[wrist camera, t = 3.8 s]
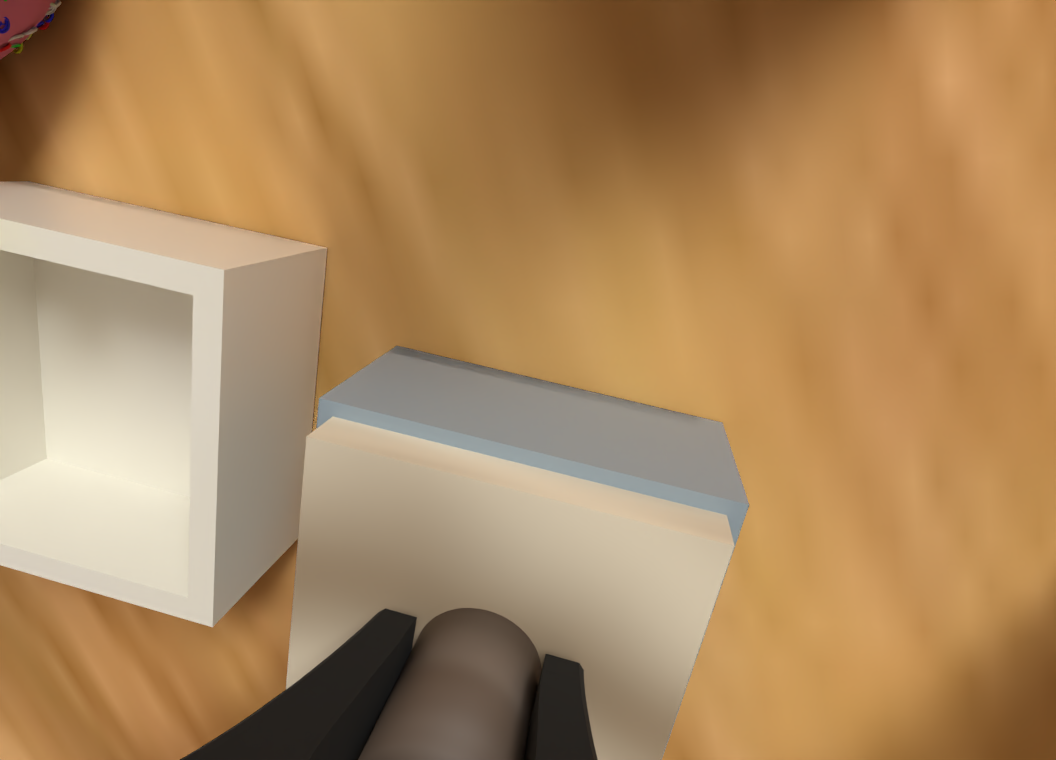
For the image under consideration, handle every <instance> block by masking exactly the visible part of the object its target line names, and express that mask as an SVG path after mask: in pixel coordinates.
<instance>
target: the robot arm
mask: <svg viewBox="0 0 1056 760" xmlns="http://www.w3.org/2000/svg"><path fill="white" fill-rule="evenodd" d="M416 620H417V617H414V616H411V615H407V614H404V613H400V612H396V611H393V610H389V609H386V608H385V609H383V610H381V611H380V612H378V613H377V614H376V615H375V616H374V617H373V618H372V619H371V620H370V621H368V622H367V623H366V624H365V625H364V626H363V627H362V628H361V629H360V630H359V631H357V632H356V633H355V634H354V635H353V636H352V637H351V638H349V639H348V640H347V641H346V642H345V643H344V644H343V645H341V646H340V647H339V648H338V649H337V650H335V651H334V652H333V653H332V654H331V655H330V656H328V657H327V658H326V659H325V660H323V661H322V662H321V663H320V664H318V665H317V666H316V667H315V668H313V669H312V670H311V671H310V672H308V673H307V674H306V675H305V676H303V677H302V678H301V679H300V680H298V681H297V682H296V683H294V684H293V685H292V686H290V687H289V688H288V689H286V690H285V691H284V692H282V693H281V694H279V695H278V696H277V697H275V698H274V699H272V700H271V701H270V702H268V703H267V704H265V705H264V706H263V707H261V708H260V709H259V710H257V711H256V712H254V713H253V714H252V715H250V716H249V717H247V718H246V719H244V720H243V721H241V722H240V723H238V724H237V725H235V726H234V727H232V728H231V729H229V730H228V731H226V732H225V733H223V734H221V735H220V736H218V737H217V738H215V739H214V740H212V741H210V742H209V743H207V744H205V745H204V746H202V747H200V748H199V749H197V750H196V751H194V752H192V753H191V754H189V755H187V756H186V757H184V758H182V759H180V760H358V759H359V757H360V755H361V753H362V751H363V749H364V746H365V744H366V742H367V740H368V738H369V736H370V734H371V732H372V730H373V728H374V726H375V724H376V722H377V720H378V718H379V716H380V714H381V712H382V710H383V708H384V706H385V704H386V702H387V700H388V698H389V696H390V694H391V692H392V690H393V688H394V685H395V683H396V681H397V679H398V677H399V675H400V673H401V671H402V669H403V667H404V665H405V663H406V661H407V659H408V657H409V655H410V653H411V651H412V645H413V639H414V633H415V626H416ZM524 760H598V759H597V755H596V750H595V746H594V741H593V737H592V732H591V726H590V721H589V715H588V709H587V702H586V695H585V685H584V670H583V668H582V666H581V665H580V663H578V662H574V661H571V660H567V659H564V658H560V657H556V656H553V655H549V654H545V658H544V662H543V666H542V671H541V675H540V679H539V683H538V687H537V692H536V696H535V701H534V706H533V711H532V716H531V720H530V725H529V730H528V736H527V743H526V750H525V756H524Z"/></svg>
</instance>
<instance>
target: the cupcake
mask: <svg viewBox="0 0 1056 760" xmlns="http://www.w3.org/2000/svg"><path fill="white" fill-rule="evenodd" d="M60 5H61V1H60V0H0V59H2V58H3V57H5V56H6V55H8V54H9V53H10V52H12V51H13V52H14V53H16V54H19V53H21V52H22V50H23V43H22V42H23V41H24V40H25V39H26V40H28V39H30V37H31V36H32V34H33V33H34V32H36V31H37V30H38V29H41V30H45V29H47V28H48V27H49V25H50V22H51V21H52V20H53V18H54V12H55V11H56V8H57V7H58V6H60ZM48 15H50V16H49V18H48V17H47V16H48ZM44 21H45V22H44ZM44 23H45V25H43V24H44ZM37 28H38V29H37ZM17 47H19V48H18V49H15V48H17Z"/></svg>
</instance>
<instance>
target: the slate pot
mask: <svg viewBox="0 0 1056 760" xmlns="http://www.w3.org/2000/svg"><path fill="white" fill-rule="evenodd" d="M331 417H337V418H341V419H345V420H349V421H353V422H357V423H361V424H365V425H369V426H373V427H377V428H381V429H385V430H389V431H393V432H397V433H401V434H405V435H409V436H413V437H417V438H421V439H425V440H429V441H433V442H437V443H441V444H445V445H449V446H453V447H457V448H461V449H465V450H469V451H473V452H477V453H481V454H485V455H489V456H493V457H497V458H501V459H505V460H509V461H512V462H516V463H520V464H524V465H528V466H532V467H536V468H540V469H544V470H548V471H552V472H556V473H560V474H564V475H568V476H572V477H576V478H580V479H584V480H588V481H592V482H596V483H600V484H604V485H608V486H612V487H616V488H620V489H624V490H628V491H632V492H636V493H640V494H644V495H648V496H652V497H656V498H660V499H664V500H668V501H672V502H676V503H680V504H684V505H688V506H692V507H696V508H700V509H704V510H708V511H712V512H716V513H720V514H724V515H727V518H728V522H729V526H730V530H731V534H732V538H733V542H734V548H735V545H736V542H737V539H738V536H739V533H740V530H741V527H742V524H743V521H744V518H745V516H746V513H747V510H748V507H749V503H748V500H747V497H746V494H745V490H744V487H743V484H742V481H741V478H740V475H739V472H738V469H737V466H736V463H735V460H734V457H733V454H732V450H731V447H730V444H729V441H728V438H727V435H726V432H725V429H724V426H723V423H722V422H718V421H713V420H709V419H705V418H701V417H696V416H692V415H688V414H684V413H679V412H675V411H671V410H667V409H663V408H658V407H654V406H650V405H646V404H641V403H637V402H633V401H629V400H624V399H620V398H616V397H612V396H608V395H603V394H599V393H595V392H591V391H586V390H582V389H578V388H574V387H569V386H565V385H561V384H557V383H552V382H548V381H544V380H540V379H536V378H531V377H527V376H523V375H519V374H514V373H510V372H506V371H502V370H497V369H493V368H489V367H485V366H481V365H476V364H472V363H468V362H464V361H459V360H455V359H451V358H447V357H442V356H438V355H434V354H430V353H425V352H421V351H417V350H413V349H409V348H404V347H400V346H396V347H394V348H393V349H391V350H390V351H388V352H387V353H385V354H384V355H382V356H381V357H379V358H378V359H376V360H375V361H373V362H372V363H370V364H369V365H367V366H366V367H364V368H363V369H361V370H360V371H359V372H357V373H356V374H354V375H353V376H351V377H350V378H348V379H347V380H345V381H344V382H342V383H341V384H339V385H338V386H336V387H335V388H333V389H332V390H330V391H329V392H327V393H326V394H324V395H323V396H321V397H320V398H319V406H318V417H317V428H318V427H320V426H321V425H322V424H324V423H325V422H326V421H327V420H329V419H330V418H331ZM733 550H734V549H733ZM732 553H733V552H732ZM731 556H732V555H731ZM730 559H731V558H730ZM729 562H730V561H729ZM728 565H729V563H728ZM727 568H728V566H727ZM726 571H727V569H726ZM725 574H726V572H725ZM724 577H725V575H724ZM723 580H724V578H723ZM722 582H723V581H722ZM721 585H722V584H721ZM720 588H721V587H720ZM719 591H720V590H719ZM718 594H719V593H718ZM717 597H718V595H717ZM716 600H717V598H716ZM715 603H716V601H715ZM714 606H715V604H714ZM713 609H714V607H713ZM712 612H713V610H712ZM711 614H712V613H711ZM710 617H711V616H710ZM709 620H710V619H709ZM708 623H709V622H708ZM707 626H708V625H707ZM706 629H707V628H706ZM705 632H706V630H705ZM704 635H705V633H704ZM703 638H704V636H703ZM702 641H703V639H702ZM701 644H702V642H701ZM700 646H701V645H700ZM699 649H700V648H699ZM698 652H699V651H698ZM697 655H698V654H697ZM696 658H697V657H696ZM695 661H696V660H695ZM694 664H695V662H694ZM693 667H694V665H693ZM692 670H693V668H692ZM691 673H692V671H691ZM690 676H691V674H690ZM689 678H690V677H689ZM688 681H689V680H688ZM687 684H688V683H687ZM686 687H687V686H686ZM685 690H686V689H685ZM684 693H685V692H684ZM683 696H684V694H683ZM682 699H683V697H682ZM681 702H682V700H681ZM680 705H681V703H680ZM679 708H680V706H679ZM678 710H679V709H678ZM677 713H678V712H677ZM676 716H677V715H676ZM675 719H676V718H675ZM674 722H675V721H674ZM673 725H674V724H673ZM672 728H673V727H672ZM671 731H672V729H671ZM670 734H671V732H670ZM669 737H670V735H669ZM668 740H669V738H668ZM667 742H668V741H667ZM666 745H667V744H666ZM665 748H666V747H665ZM664 751H665V750H664ZM663 754H664V753H663ZM662 757H663V756H662ZM661 760H662V759H661Z"/></svg>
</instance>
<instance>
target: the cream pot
mask: <svg viewBox="0 0 1056 760" xmlns="http://www.w3.org/2000/svg"><path fill="white" fill-rule="evenodd" d="M326 257H327V248H326V247H322V246H317V245H313V244H308V243H304V242H299V241H295V240H290V239H286V238H281V237H277V236H272V235H268V234H263V233H259V232H254V231H250V230H246V229H241V228H237V227H232V226H228V225H223V224H219V223H214V222H210V221H205V220H201V219H196V218H192V217H187V216H183V215H178V214H174V213H169V212H165V211H160V210H156V209H151V208H147V207H142V206H138V205H133V204H129V203H124V202H120V201H115V200H111V199H106V198H102V197H97V196H93V195H88V194H84V193H79V192H75V191H70V190H66V189H61V188H57V187H52V186H48V185H43V184H39V183H34V182H30V181H15V182H0V565H2V566H5V567H8V568H12V569H15V570H19V571H22V572H26V573H29V574H32V575H36V576H39V577H43V578H46V579H49V580H53V581H56V582H60V583H63V584H67V585H70V586H73V587H77V588H80V589H84V590H87V591H90V592H94V593H97V594H101V595H104V596H107V597H111V598H114V599H118V600H121V601H125V602H128V603H131V604H135V605H138V606H142V607H145V608H148V609H152V610H155V611H159V612H162V613H166V614H169V615H172V616H176V617H179V618H183V619H186V620H189V621H193V622H196V623H200V624H203V625H207V626H210V627H213V626H214V625H215V624H216V623H217V622H218V621H219V620H220V619H221V618H222V617H223V616H224V615H225V614H226V613H227V612H228V611H229V610H230V609H231V608H232V607H233V605H234V604H235V603H236V602H237V601H238V600H239V599H240V598H241V597H242V596H243V595H244V594H245V593H246V592H247V591H248V590H249V589H250V588H251V587H252V586H253V585H254V584H255V583H256V582H257V581H258V579H259V578H260V577H261V576H262V575H263V574H264V573H265V572H266V571H267V570H268V569H269V568H270V567H271V566H272V565H273V564H274V563H275V562H276V561H277V560H278V559H279V558H280V557H281V556H282V555H283V553H284V552H285V551H286V550H287V549H288V548H289V547H290V546H291V545H292V544H293V543H294V542H295V541H296V540H297V539H298V534H299V522H300V509H301V497H302V485H303V473H304V460H305V448H306V436H308V435H309V434H310V433H312V423H313V411H314V399H315V388H316V376H317V364H318V352H319V340H320V328H321V317H322V305H323V293H324V281H325V269H326Z"/></svg>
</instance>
